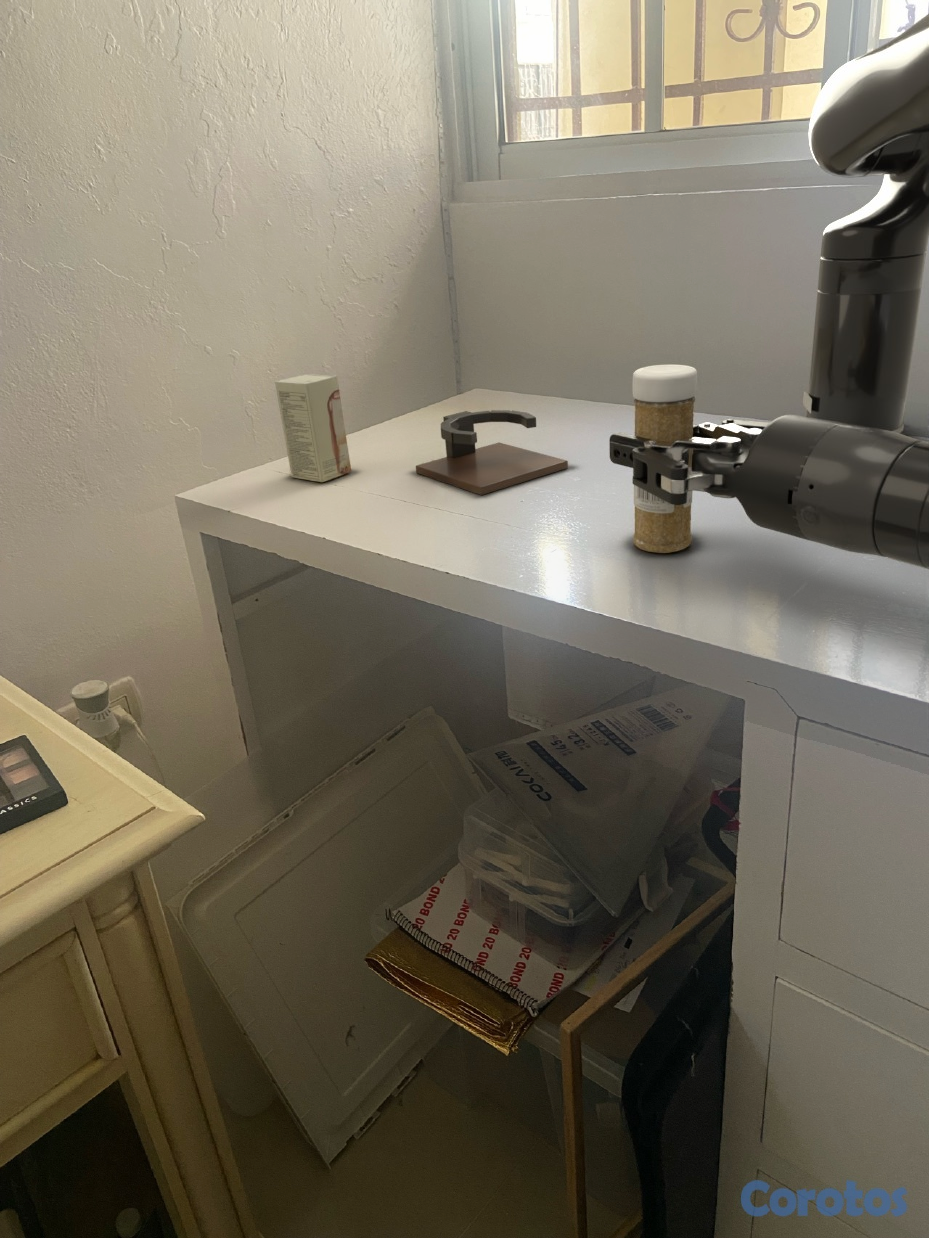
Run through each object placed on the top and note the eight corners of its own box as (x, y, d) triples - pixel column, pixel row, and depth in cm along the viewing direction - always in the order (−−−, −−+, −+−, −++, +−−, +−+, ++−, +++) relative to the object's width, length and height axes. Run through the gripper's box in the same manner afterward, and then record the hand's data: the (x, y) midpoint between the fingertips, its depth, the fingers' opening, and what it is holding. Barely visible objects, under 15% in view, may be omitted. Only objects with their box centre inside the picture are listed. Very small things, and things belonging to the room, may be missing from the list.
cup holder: (568, 468, 90) (566, 418, 88) (481, 495, 85) (477, 443, 83) (498, 449, 99) (496, 403, 96) (415, 472, 93) (410, 424, 91)
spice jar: (704, 544, 70) (711, 366, 64) (661, 559, 68) (664, 378, 62) (661, 529, 73) (665, 360, 68) (619, 543, 71) (619, 370, 65)
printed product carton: (353, 472, 95) (340, 375, 90) (322, 484, 92) (307, 384, 87) (320, 466, 98) (305, 371, 94) (289, 477, 95) (272, 380, 91)
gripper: (908, 402, 59) (699, 373, 71) (770, 451, 51) (564, 409, 64) (893, 512, 62) (696, 465, 74) (761, 573, 55) (567, 510, 67)
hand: (636, 440), depth 69 cm, fingers closed on spice jar, 4 cm apart
